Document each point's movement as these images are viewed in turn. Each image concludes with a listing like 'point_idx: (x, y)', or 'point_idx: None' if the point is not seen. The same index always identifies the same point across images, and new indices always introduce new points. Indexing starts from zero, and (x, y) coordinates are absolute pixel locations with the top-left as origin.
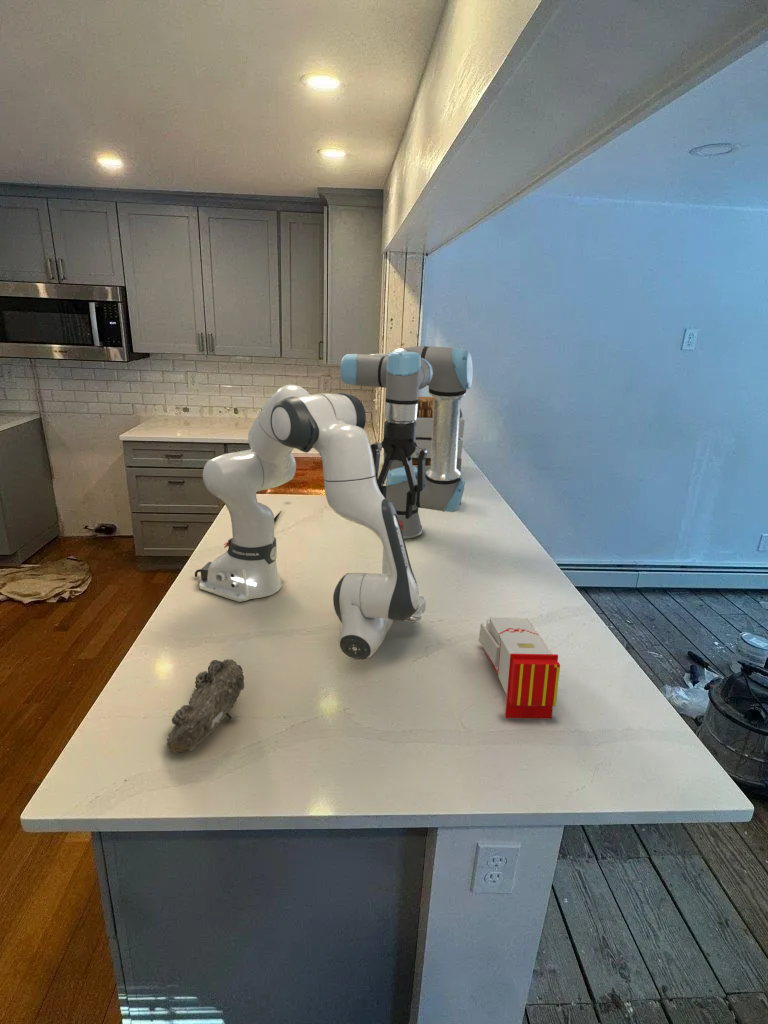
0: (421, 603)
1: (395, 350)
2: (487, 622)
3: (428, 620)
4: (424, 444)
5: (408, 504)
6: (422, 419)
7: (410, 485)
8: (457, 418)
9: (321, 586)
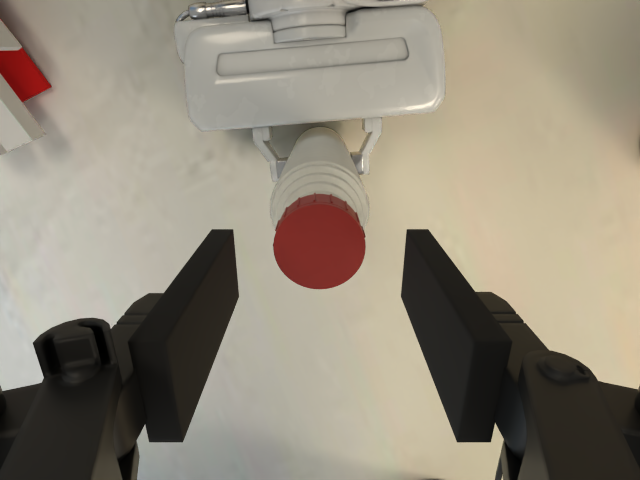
0: (186, 80)
1: None
2: (25, 128)
3: (219, 157)
4: None
5: (184, 276)
6: None
7: (76, 421)
8: None
9: (533, 203)
